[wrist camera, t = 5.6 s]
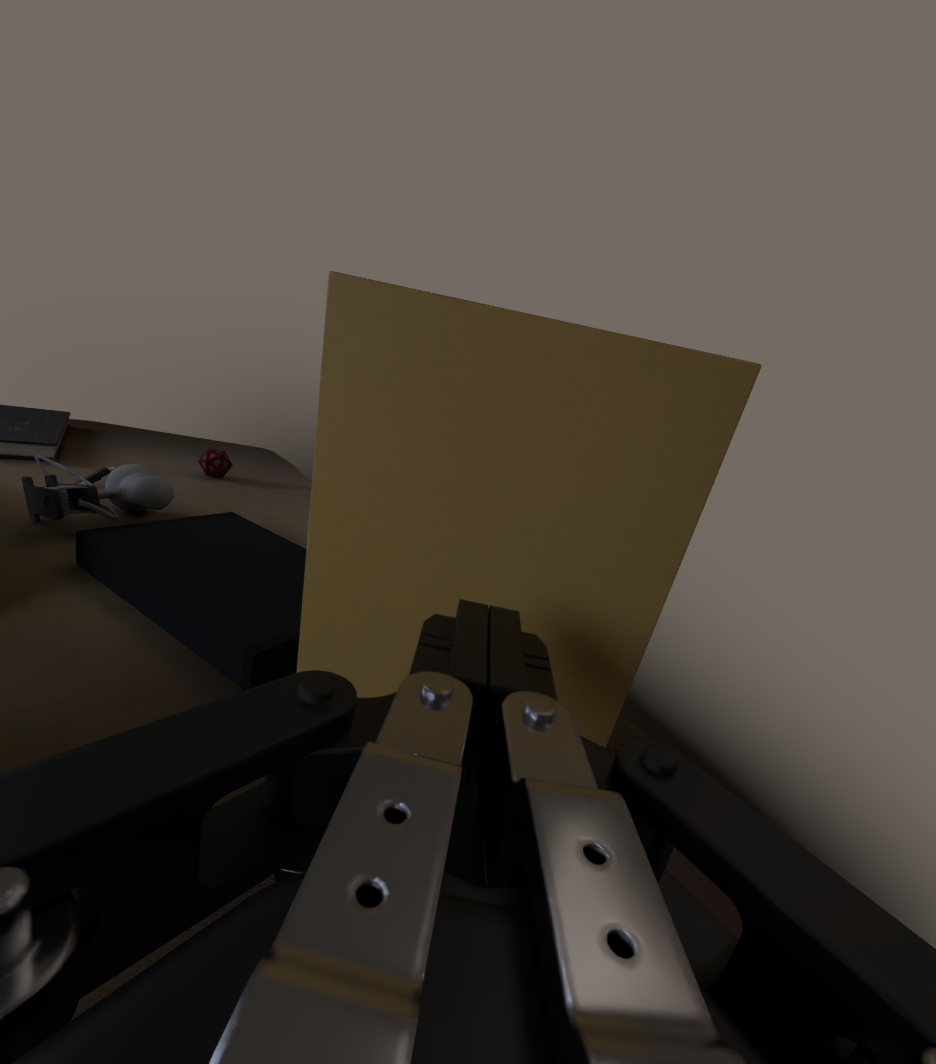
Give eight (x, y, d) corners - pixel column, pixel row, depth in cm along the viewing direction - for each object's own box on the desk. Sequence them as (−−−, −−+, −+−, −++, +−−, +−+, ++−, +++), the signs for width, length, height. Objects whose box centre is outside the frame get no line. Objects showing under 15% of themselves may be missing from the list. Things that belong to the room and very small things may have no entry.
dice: (230, 482, 75) (232, 454, 74) (195, 478, 73) (197, 449, 72) (232, 475, 78) (234, 448, 77) (198, 471, 76) (200, 444, 75)
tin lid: (335, 271, 14) (328, 270, 13) (753, 362, 14) (763, 364, 14) (298, 704, 20) (292, 716, 19) (592, 764, 20) (594, 777, 20)
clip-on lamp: (16, 514, 57) (44, 537, 45) (4, 455, 56) (29, 462, 44) (138, 500, 66) (190, 516, 53) (130, 449, 64) (181, 453, 52)
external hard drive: (232, 538, 56) (234, 511, 55) (398, 629, 45) (404, 597, 44) (76, 564, 44) (75, 531, 43) (249, 696, 33) (254, 654, 32)
